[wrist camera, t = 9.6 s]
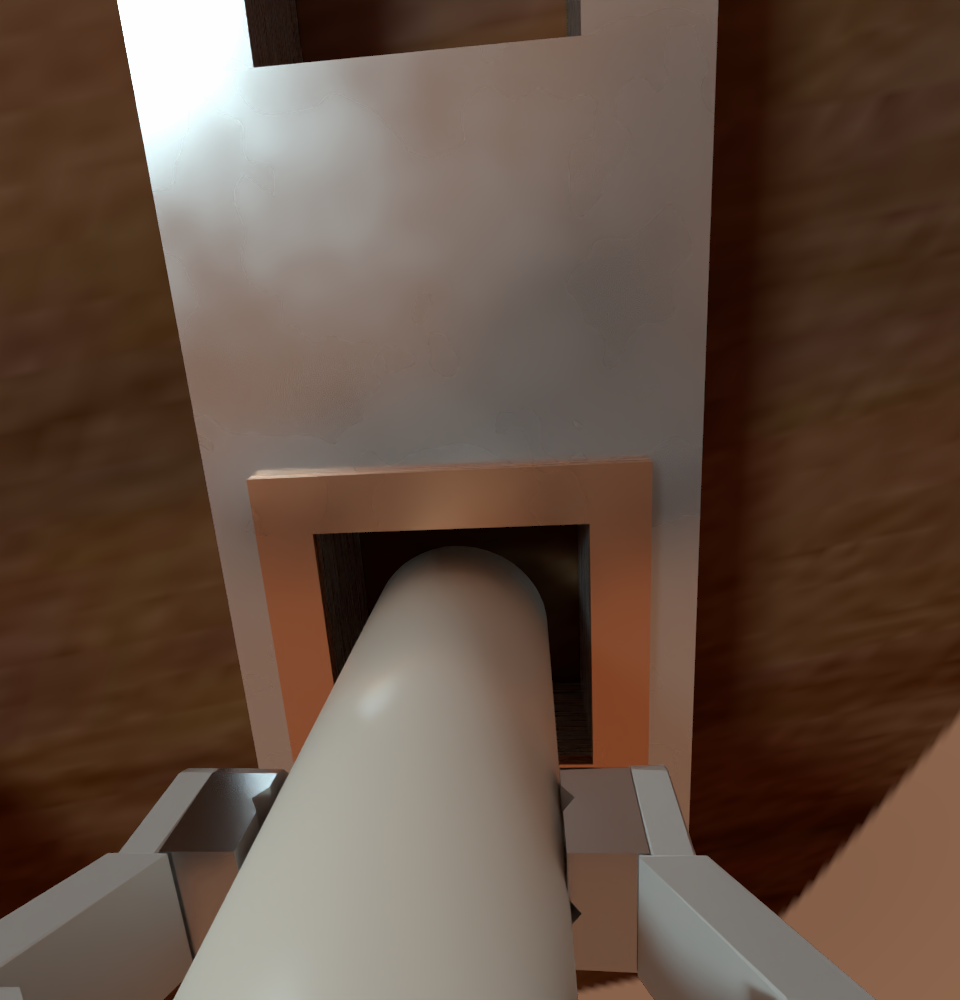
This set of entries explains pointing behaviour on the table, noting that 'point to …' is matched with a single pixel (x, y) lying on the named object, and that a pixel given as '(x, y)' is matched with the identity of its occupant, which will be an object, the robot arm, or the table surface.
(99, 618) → the table surface
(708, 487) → the table surface
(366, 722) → the peg
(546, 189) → the rail
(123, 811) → the table surface
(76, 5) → the table surface
